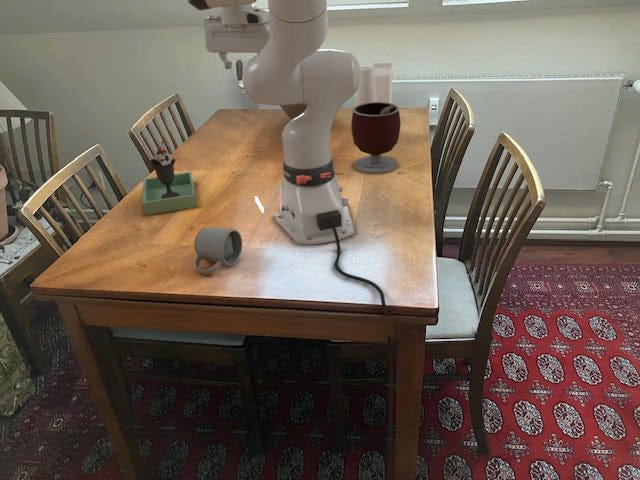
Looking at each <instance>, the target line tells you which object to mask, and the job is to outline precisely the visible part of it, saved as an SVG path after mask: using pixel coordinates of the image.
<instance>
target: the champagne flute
mask: <svg viewBox="0 0 640 480" xmlns="http://www.w3.org/2000/svg"><path fill="white" fill-rule="evenodd" d="M360 70H361V80H360V84H359V87H358V89H357V91H356V95H355V96H356V97H355V106H357V105H360V104H364V103H370V102H377V95H376V84H375V73H374V66H372V65H362V66H360Z"/></svg>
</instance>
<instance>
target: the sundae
mask: <svg viewBox="0 0 640 480" xmlns="http://www.w3.org/2000/svg"><path fill="white" fill-rule="evenodd" d="M164 143H165V142H164V141H161V144H162V145H161V146H160V148H158V149H157V150H156V153H154V156H153V158H151V159H150V162H149V165H150V166H151V168H153V169H154V171H155V175H156V177H158V179H159V181H160V183H162V184H164V185H166V188H167V193H165V194H163V195H162V196H161V198H162V199H166V198H173V197H179V193H178V192H172V190H171V187H170V184H171V183H172V182H173V181H174V174H175V166H174V165H175V163H176V158H174V157H173V156H171V154H169V153H168V150H167V149H165V145H164ZM162 147H163V149H162Z"/></svg>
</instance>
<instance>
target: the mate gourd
mask: <svg viewBox="0 0 640 480" xmlns="http://www.w3.org/2000/svg"><path fill="white" fill-rule="evenodd" d="M400 134H401V115H400V107H399V106H398V105H397V104H395V103H392V104H391V103H386V102H370V103H364V104H360V105H355V106H354V107H353V108H352V115H351V135H352V140H353V144H354V145H355V146H356V147H357V149H358V150H359V151H360V152H361V153H364V154H368V155H367V156H363V157H361V158H360V157H359V158H358V159H357V160H356V161H355V163H354V167H355V169H356V170H357V171H359V172H362V173H366V174H373V175H374V174H375V175H377V174H385V173H389V172H392V171H394V170H395V169H396V168H397V161H396V160H395V159H394V158H393V157H390V156H387V155H383V154H387V153H389V152H391V151H392V150H393V149H395V146H397V144H398V141H399V138H400Z"/></svg>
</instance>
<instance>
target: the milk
mask: <svg viewBox="0 0 640 480" xmlns="http://www.w3.org/2000/svg"><path fill="white" fill-rule="evenodd" d="M373 67H374V73H375V84H376V95H377V102H386V103H391V104H393V69H392V63H391V62H374V63H373Z"/></svg>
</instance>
